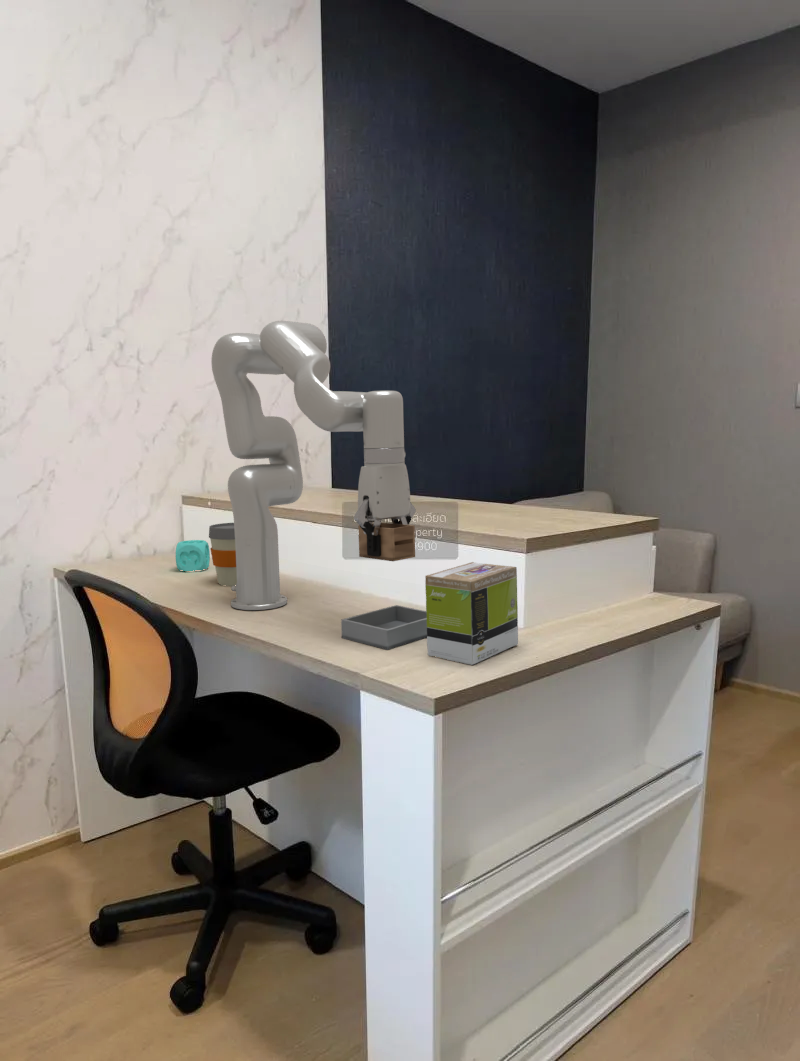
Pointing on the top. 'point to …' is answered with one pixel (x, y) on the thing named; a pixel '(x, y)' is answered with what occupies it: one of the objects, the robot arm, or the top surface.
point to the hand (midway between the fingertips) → (386, 552)
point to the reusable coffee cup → (224, 552)
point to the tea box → (471, 612)
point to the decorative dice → (192, 555)
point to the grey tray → (386, 627)
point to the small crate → (391, 542)
